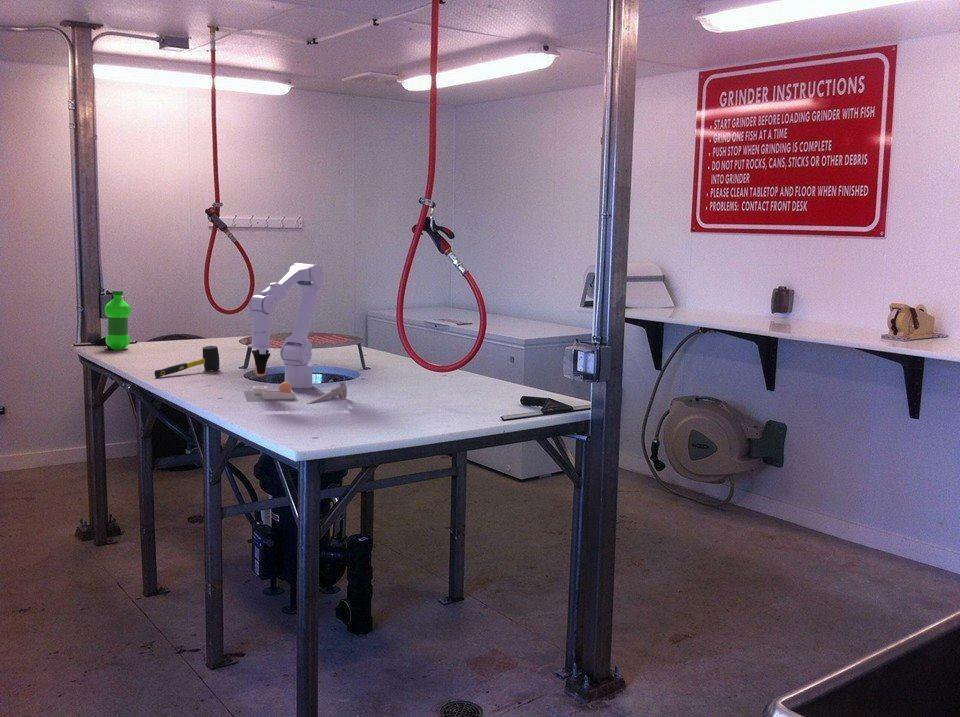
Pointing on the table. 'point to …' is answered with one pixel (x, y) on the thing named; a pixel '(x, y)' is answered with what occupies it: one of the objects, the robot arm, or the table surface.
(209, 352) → the mallet
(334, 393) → the caliper
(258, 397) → the mat
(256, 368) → the ball
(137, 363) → the table surface
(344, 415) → the table surface
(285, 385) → the ball left
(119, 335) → the plastic bottle
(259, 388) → the tube
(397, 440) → the table surface
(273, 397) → the hollow rectangular frame
